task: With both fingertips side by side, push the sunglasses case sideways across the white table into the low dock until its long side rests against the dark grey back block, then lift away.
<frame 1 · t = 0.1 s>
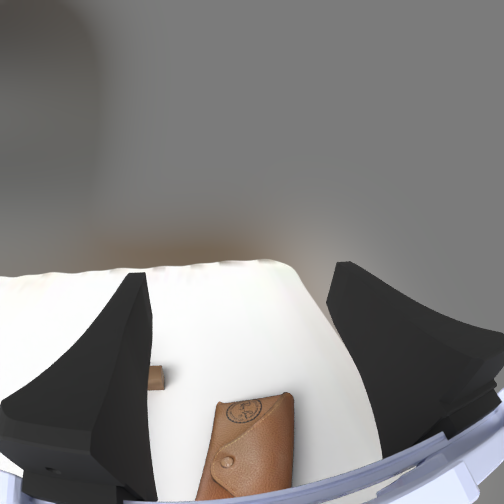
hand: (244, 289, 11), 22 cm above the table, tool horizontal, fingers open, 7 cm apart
dock: (107, 480, 19), on the table
sunglasses case: (244, 477, 22), on the table
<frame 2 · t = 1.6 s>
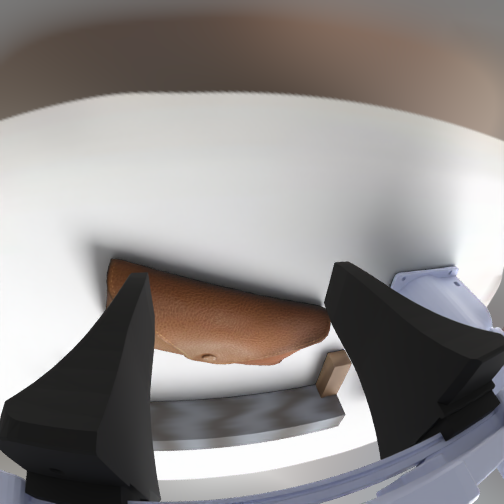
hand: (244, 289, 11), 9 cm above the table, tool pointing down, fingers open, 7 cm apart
dock: (217, 398, 31), on the table
sunglasses case: (211, 314, 25), on the table
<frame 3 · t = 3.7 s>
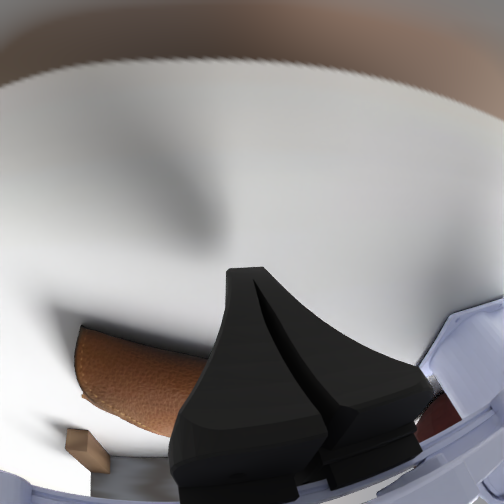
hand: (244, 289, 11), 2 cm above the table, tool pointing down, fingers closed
dock: (228, 453, 24), on the table
sunglasses case: (218, 384, 18), on the table
potato: (431, 402, 31), on the table
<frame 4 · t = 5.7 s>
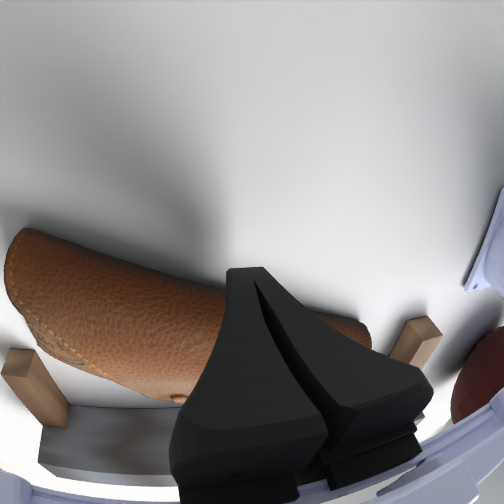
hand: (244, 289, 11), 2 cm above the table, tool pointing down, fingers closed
dock: (231, 403, 19), on the table
sunglasses case: (188, 330, 16), on the table
potato: (472, 349, 25), on the table
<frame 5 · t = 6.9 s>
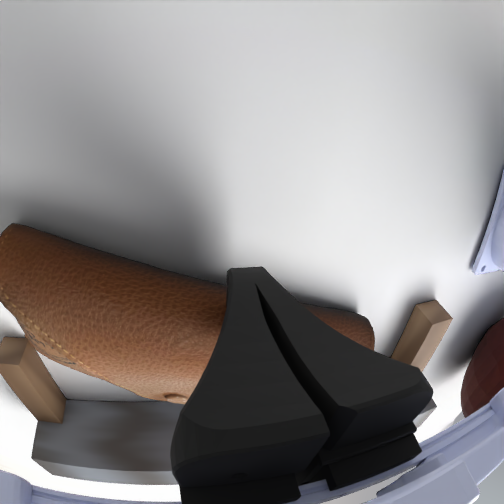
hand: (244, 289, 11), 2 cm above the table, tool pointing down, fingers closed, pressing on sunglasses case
dock: (233, 395, 18), on the table
sunglasses case: (183, 327, 15), on the table, touching dock, gripper
potato: (481, 339, 24), on the table
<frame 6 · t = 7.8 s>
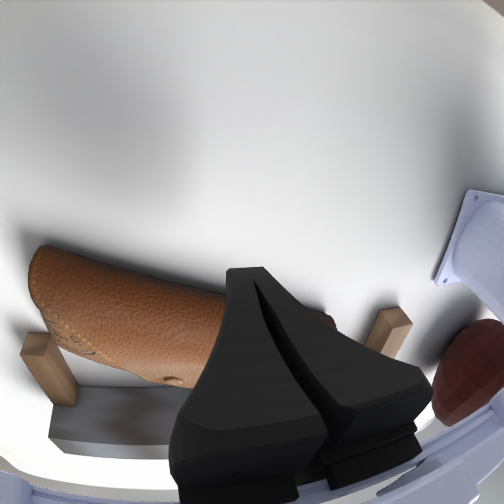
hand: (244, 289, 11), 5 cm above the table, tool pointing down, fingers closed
dock: (222, 383, 22), on the table
sunglasses case: (179, 323, 19), on the table
potato: (451, 342, 28), on the table
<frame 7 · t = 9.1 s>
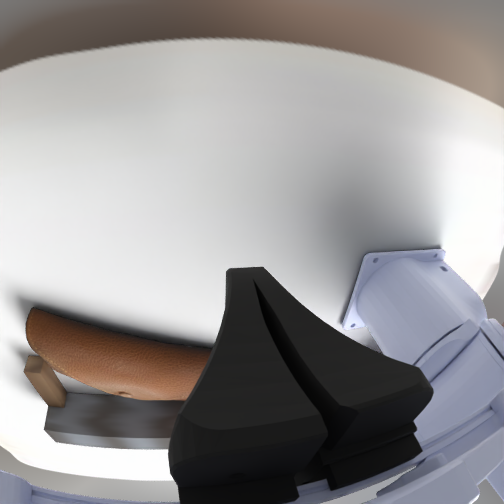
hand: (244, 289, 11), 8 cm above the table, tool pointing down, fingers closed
dock: (169, 394, 28), on the table
sunglasses case: (130, 354, 25), on the table, touching dock
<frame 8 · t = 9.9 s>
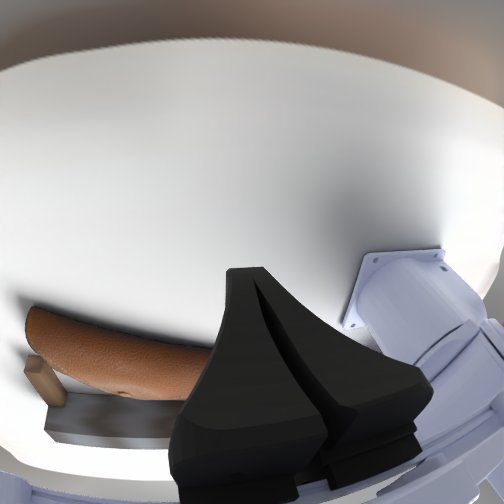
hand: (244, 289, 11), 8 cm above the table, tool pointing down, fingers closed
dock: (169, 394, 28), on the table
sunglasses case: (130, 354, 24), on the table
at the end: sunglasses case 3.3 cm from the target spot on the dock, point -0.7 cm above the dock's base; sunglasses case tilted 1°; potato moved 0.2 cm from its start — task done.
